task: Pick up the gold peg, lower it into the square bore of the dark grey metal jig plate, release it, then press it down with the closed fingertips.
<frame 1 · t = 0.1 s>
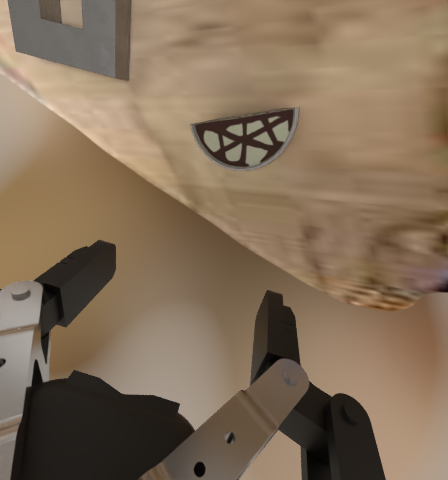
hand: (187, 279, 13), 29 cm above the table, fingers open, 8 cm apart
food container: (250, 137, 36), on the table
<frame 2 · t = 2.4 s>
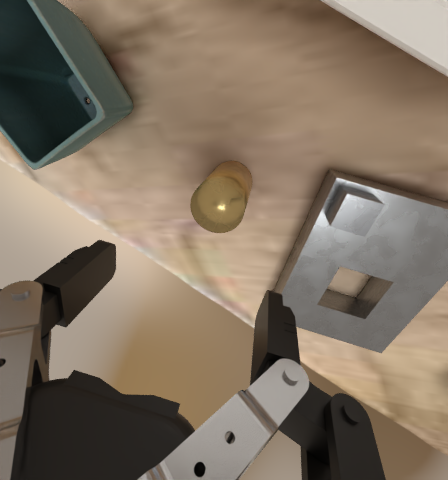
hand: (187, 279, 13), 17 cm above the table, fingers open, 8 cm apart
jig: (353, 261, 28), on the table
gold peg: (231, 181, 27), on the table
flower pot: (102, 92, 25), on the table
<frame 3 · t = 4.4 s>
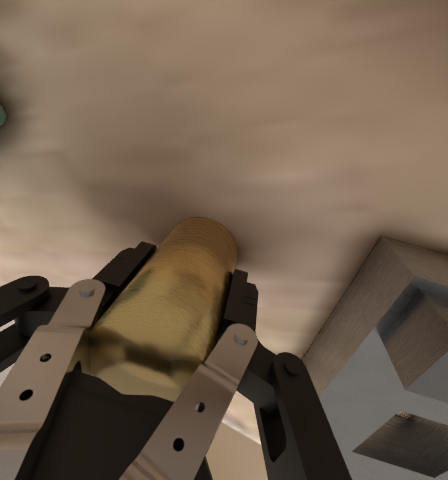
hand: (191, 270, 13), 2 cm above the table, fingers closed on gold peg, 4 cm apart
jig: (410, 374, 17), on the table
gold peg: (202, 250, 15), on the table, touching gripper
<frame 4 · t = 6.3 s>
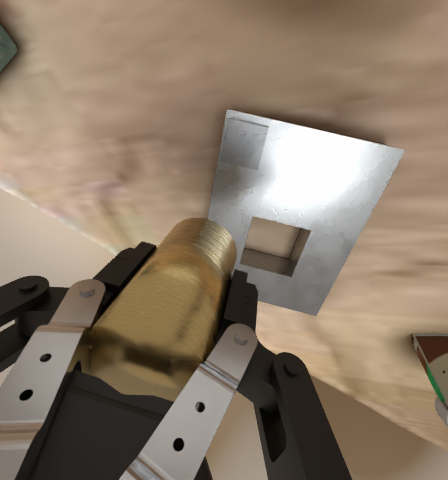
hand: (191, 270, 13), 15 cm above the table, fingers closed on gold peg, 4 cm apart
jig: (278, 216, 26), on the table
gold peg: (201, 250, 15), point 12 cm above the table, touching gripper
when the fingers open (5 cm above the table, at t = 8.4 s): gold peg drops 2 cm, resting in jig.
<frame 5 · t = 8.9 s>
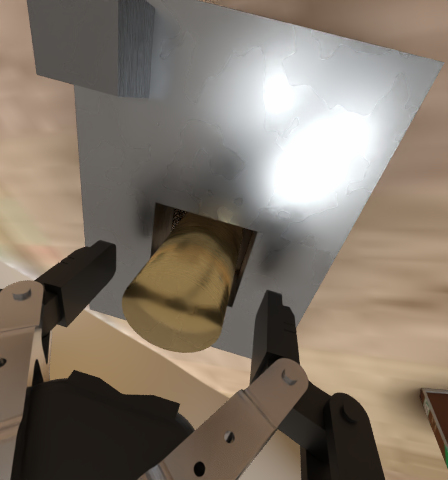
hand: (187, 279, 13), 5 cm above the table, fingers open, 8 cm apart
jig: (216, 207, 16), on the table
gold peg: (211, 232, 17), resting in jig
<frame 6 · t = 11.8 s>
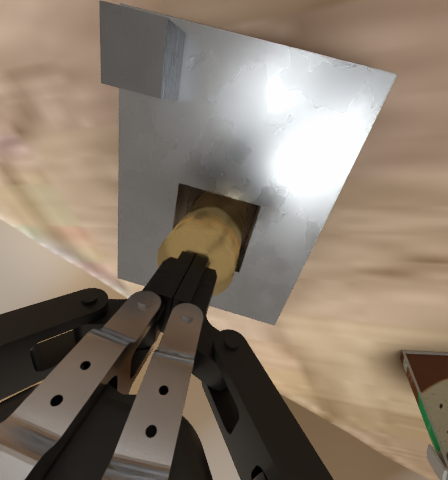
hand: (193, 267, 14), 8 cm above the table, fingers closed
jig: (225, 190, 20), on the table
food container: (447, 371, 25), on the table
gold peg: (221, 212, 21), resting in jig
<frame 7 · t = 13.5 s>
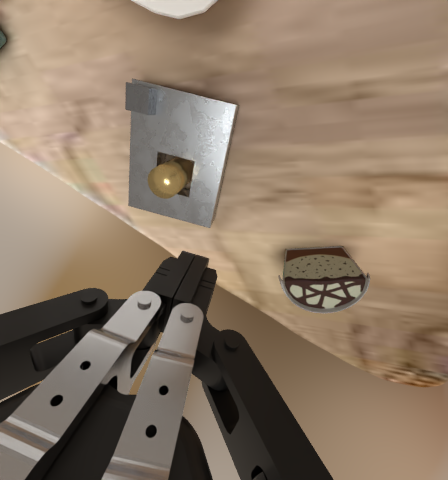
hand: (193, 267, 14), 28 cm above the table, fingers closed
jig: (182, 157, 39), on the table
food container: (313, 261, 44), on the table
gold peg: (181, 170, 40), resting in jig
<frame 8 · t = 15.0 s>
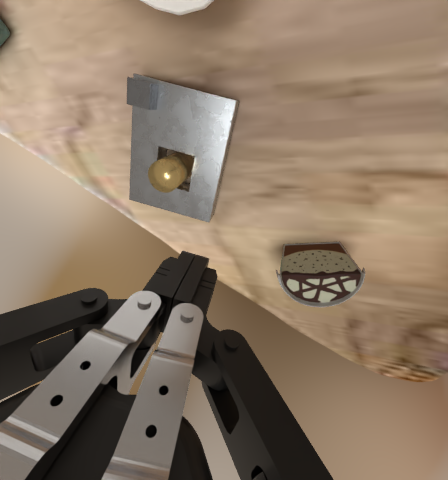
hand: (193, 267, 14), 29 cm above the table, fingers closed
jig: (183, 152, 40), on the table
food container: (310, 257, 45), on the table
gold peg: (182, 165, 41), resting in jig
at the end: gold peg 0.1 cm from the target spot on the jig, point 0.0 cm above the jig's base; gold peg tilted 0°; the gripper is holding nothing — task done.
